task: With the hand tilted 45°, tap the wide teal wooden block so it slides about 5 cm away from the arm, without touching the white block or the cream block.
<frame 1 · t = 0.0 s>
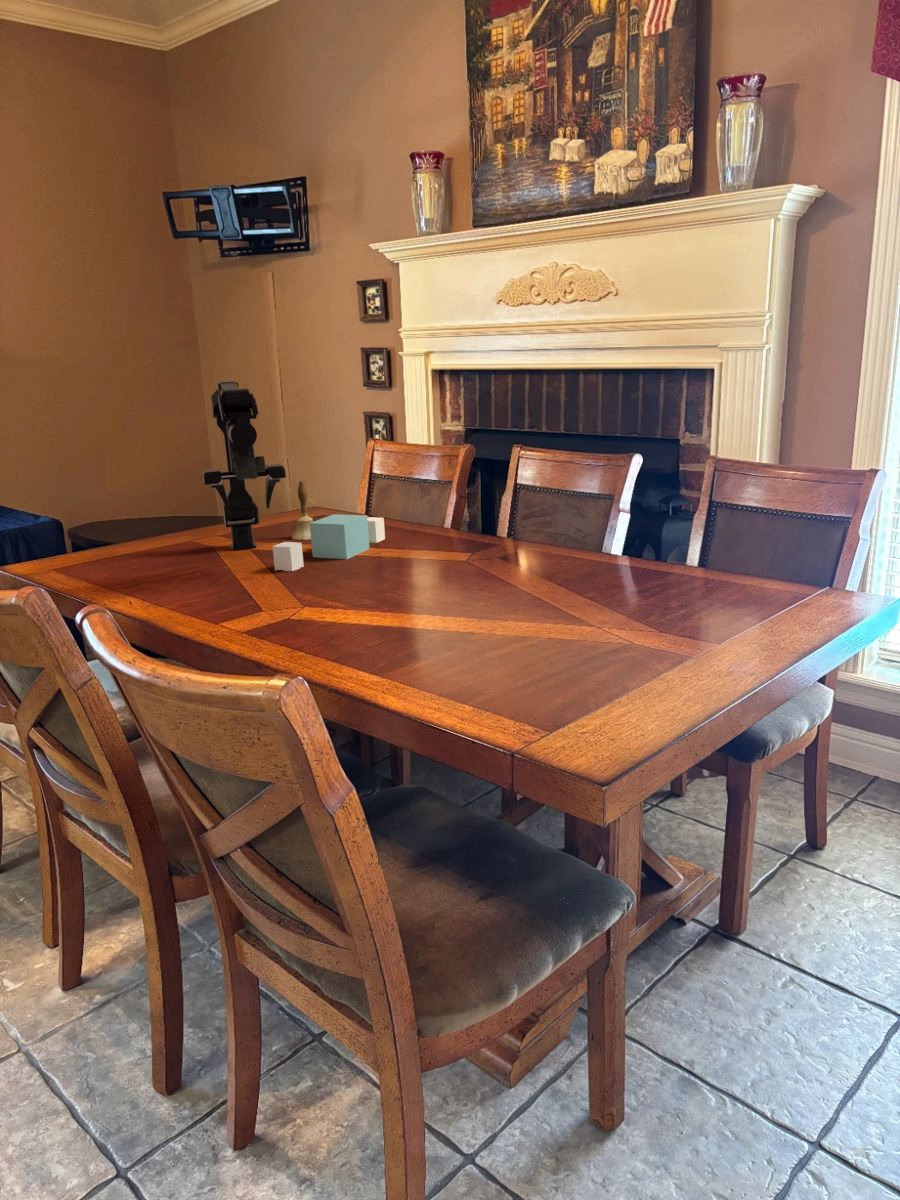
hand: (248, 510, 203), 15 cm above the table, tool pointing down, fingers open, 9 cm apart
hand bell: (306, 538, 242), on the table
teal block: (341, 553, 221), on the table
cream block: (372, 540, 234), on the table
white block: (289, 568, 207), on the table
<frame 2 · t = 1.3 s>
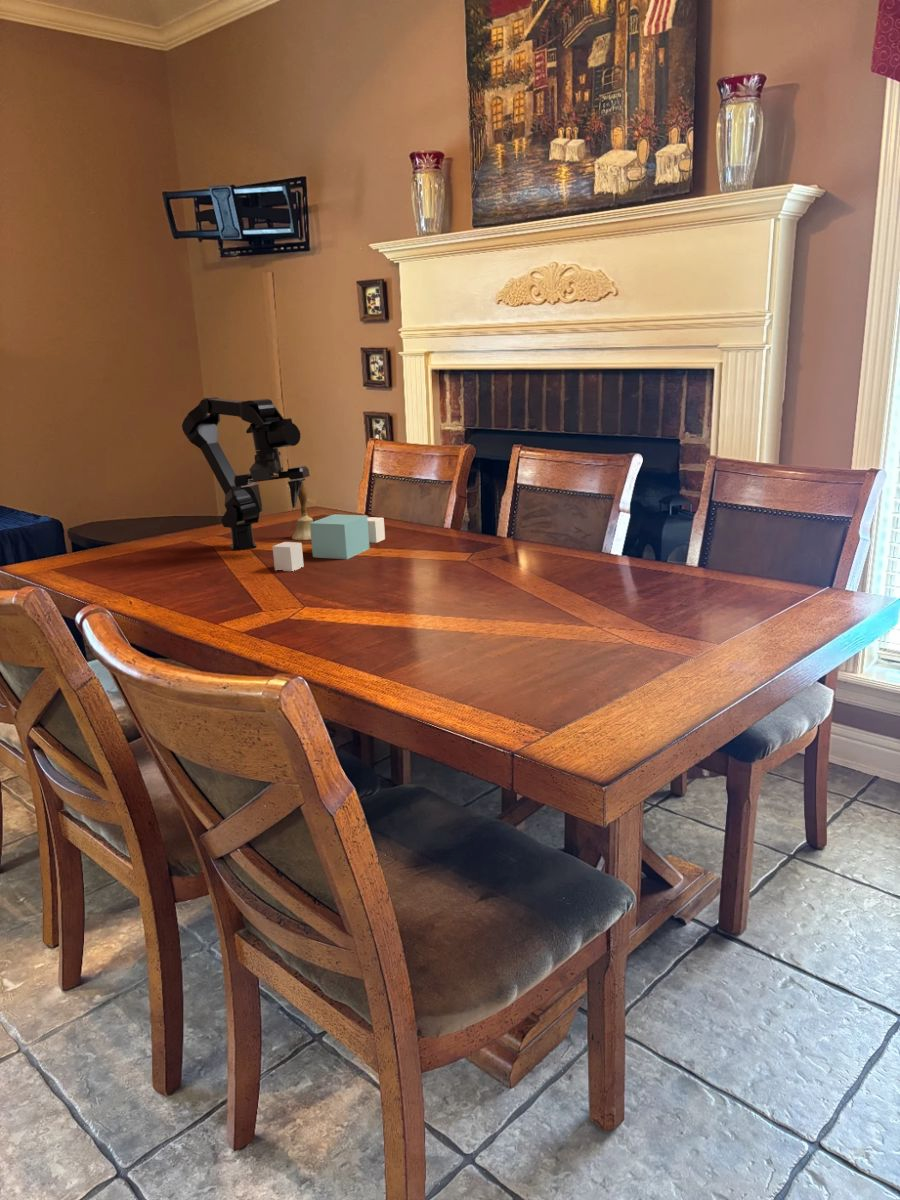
hand: (277, 509, 221), 11 cm above the table, tool pointing down, fingers open, 9 cm apart
nothing on the table moved.
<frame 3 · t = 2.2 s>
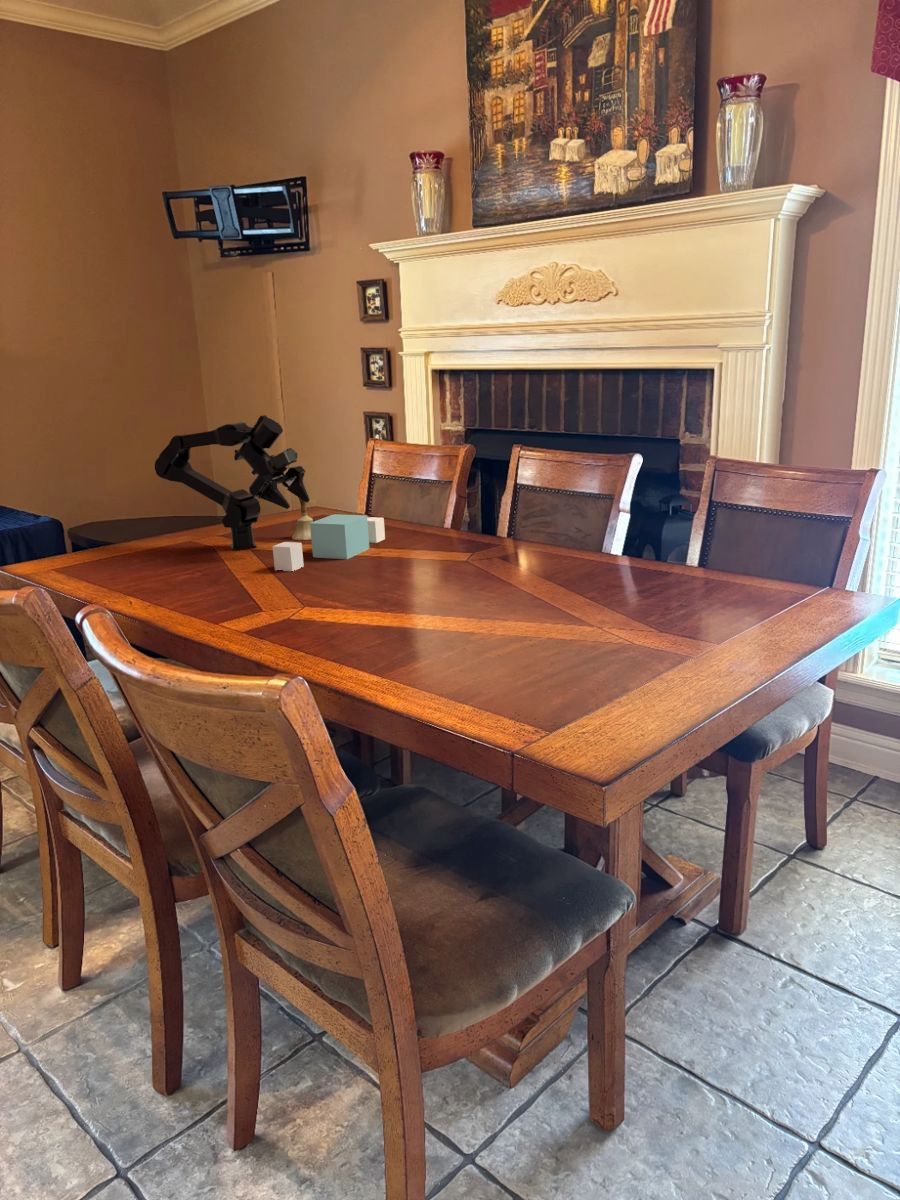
hand: (298, 504, 222), 12 cm above the table, tool tilted 45°, fingers open, 9 cm apart
nothing on the table moved.
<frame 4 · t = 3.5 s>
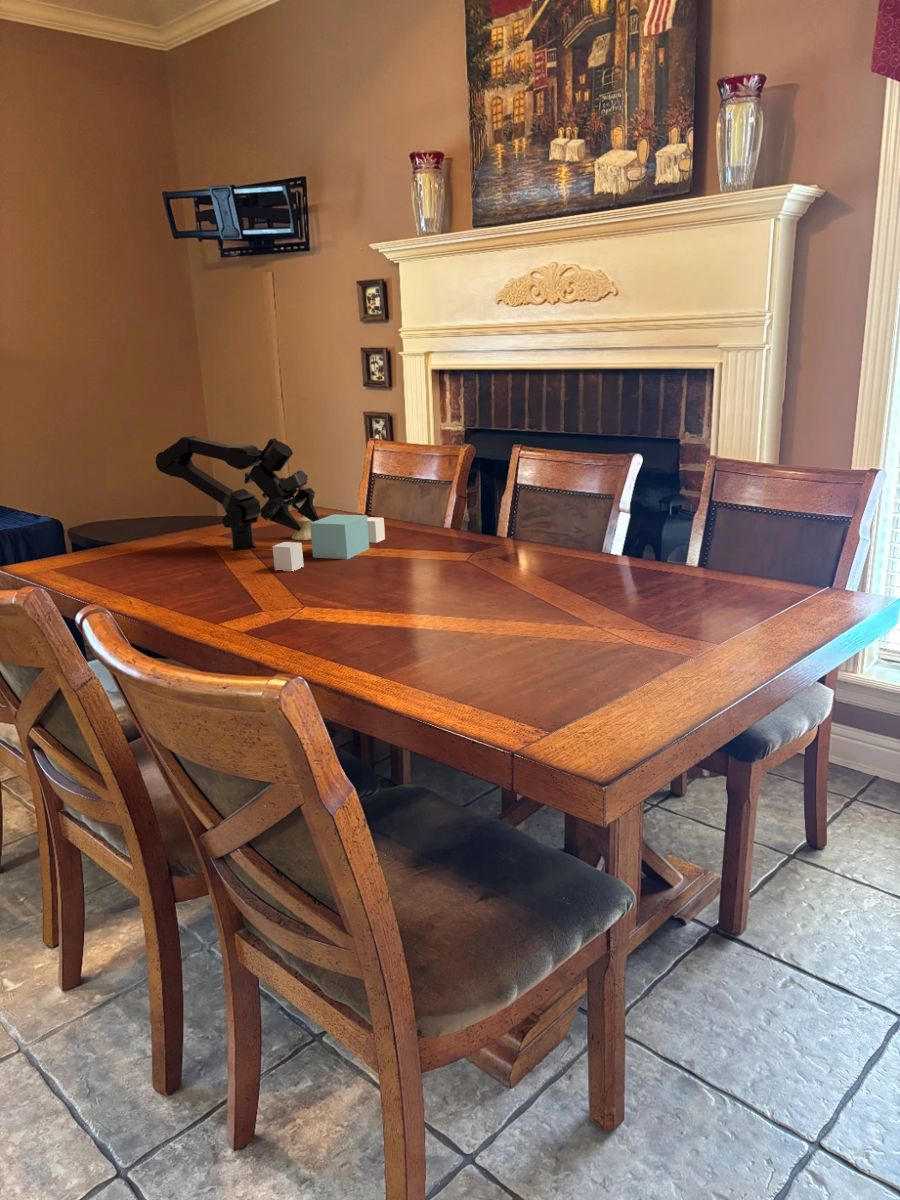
hand: (309, 526, 222), 7 cm above the table, tool tilted 45°, fingers open, 9 cm apart
nothing on the table moved.
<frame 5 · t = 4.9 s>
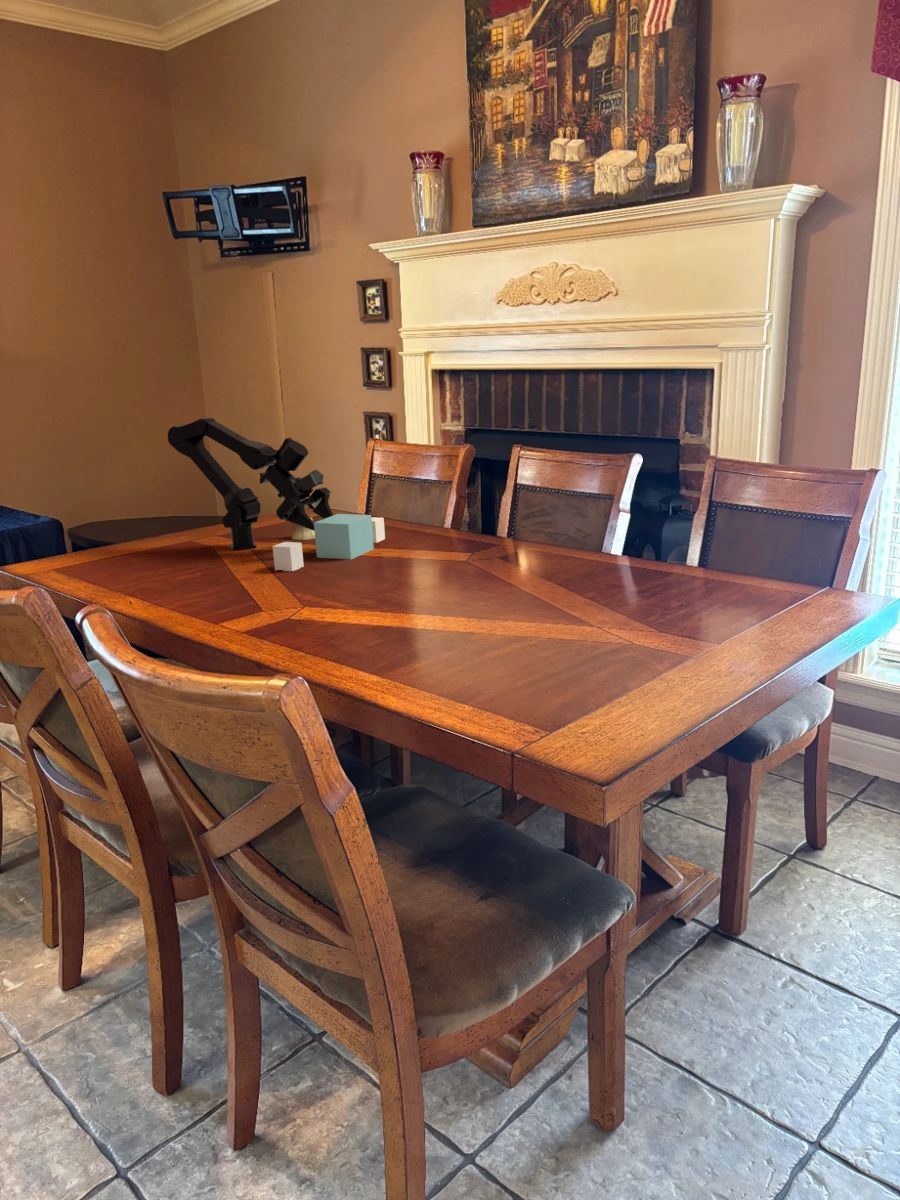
hand: (325, 526, 220), 7 cm above the table, tool tilted 45°, fingers open, 9 cm apart
teal block: (345, 553, 220), on the table
everything else where it was.
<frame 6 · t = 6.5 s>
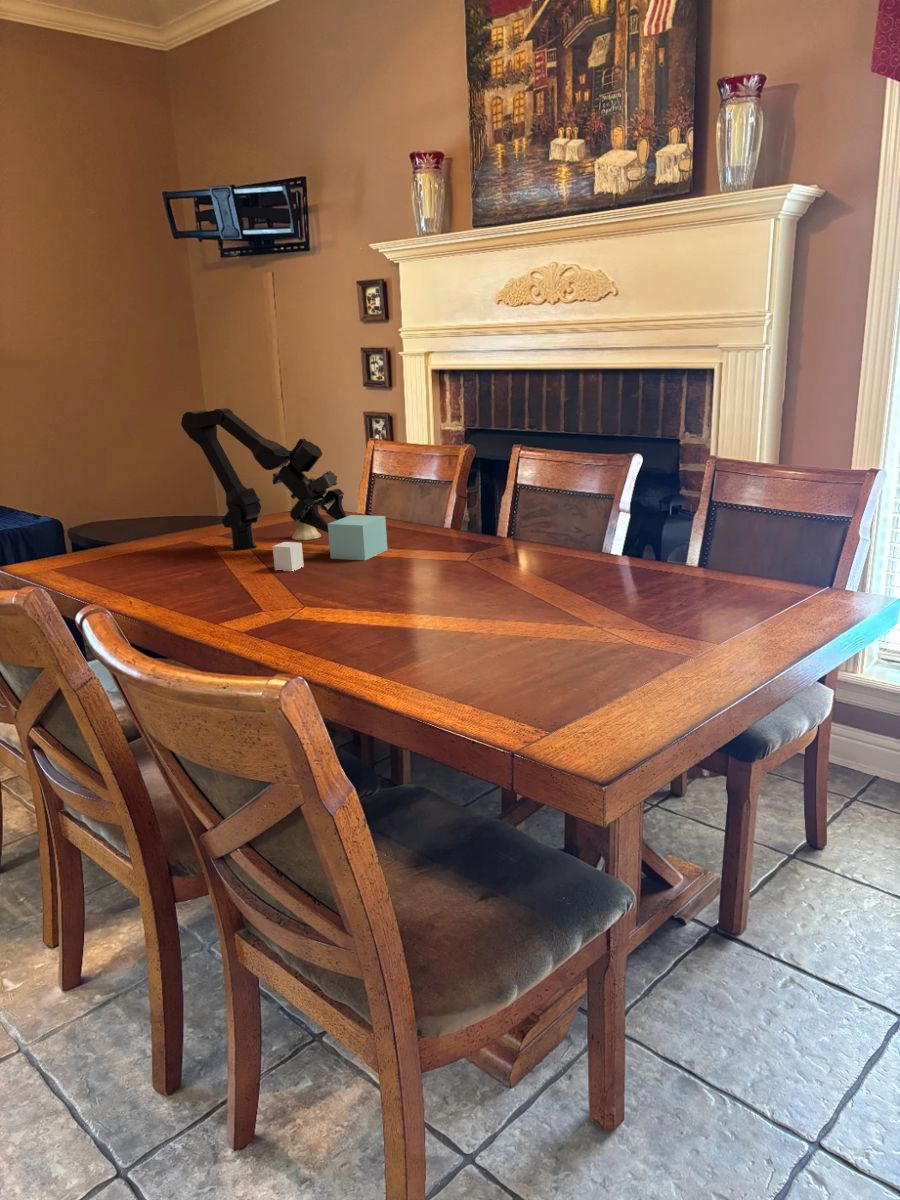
hand: (339, 527, 219), 7 cm above the table, tool tilted 45°, fingers open, 9 cm apart
teal block: (359, 554, 219), on the table
everything else where it was.
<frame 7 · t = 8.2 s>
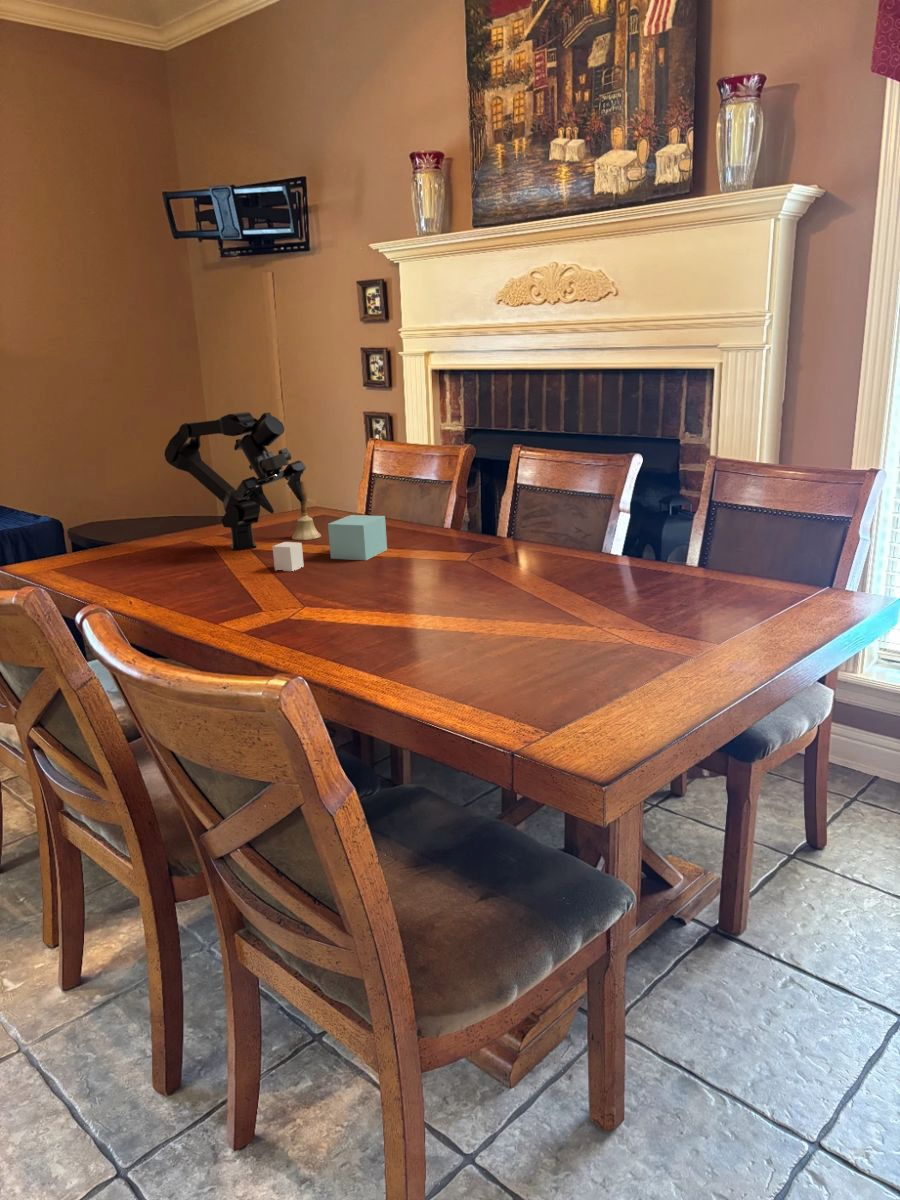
hand: (287, 507, 220), 12 cm above the table, tool tilted 35°, fingers open, 9 cm apart
nothing on the table moved.
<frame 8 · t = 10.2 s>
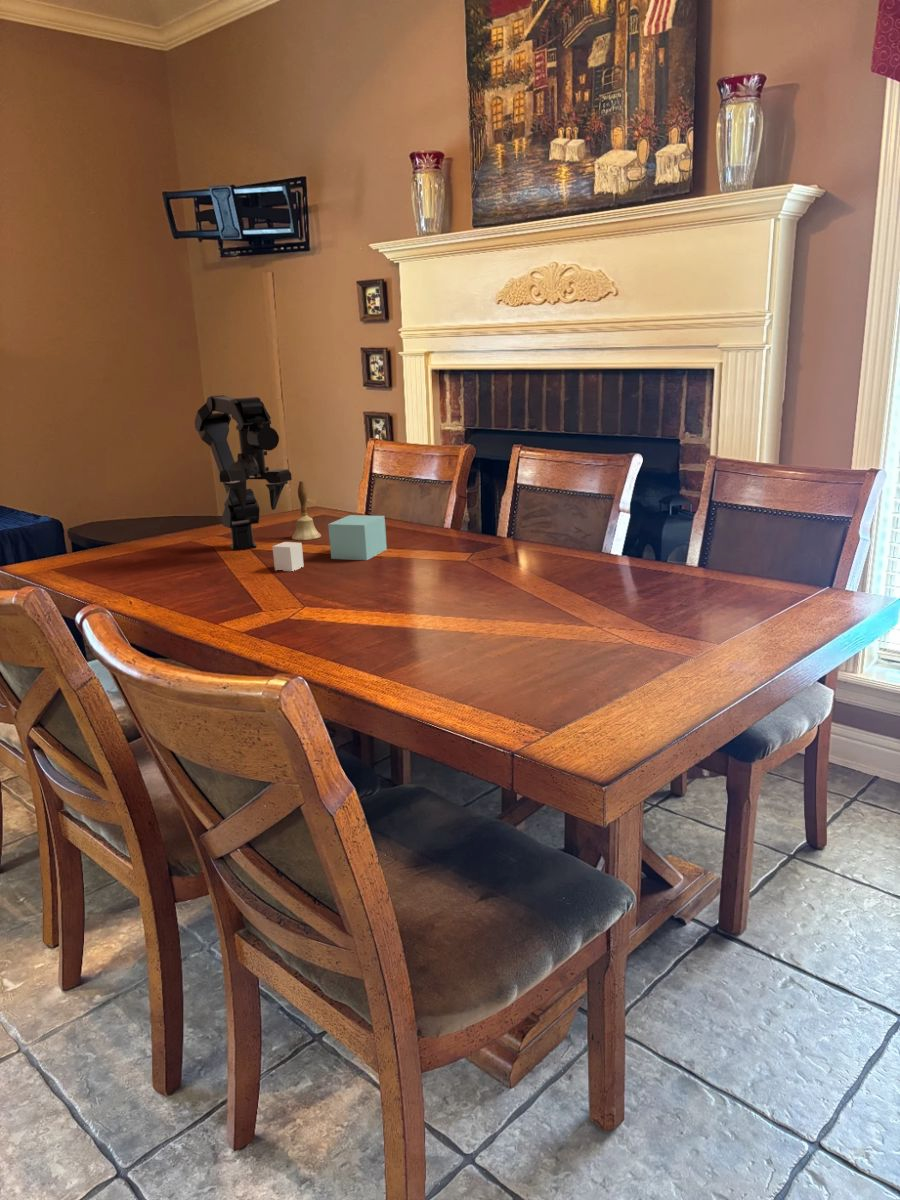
hand: (258, 509, 220), 12 cm above the table, tool pointing down, fingers open, 9 cm apart
nothing on the table moved.
at the end: teal block moved 5.3 cm from its start; teal block tilted 0°; white block moved 0.1 cm from its start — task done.
